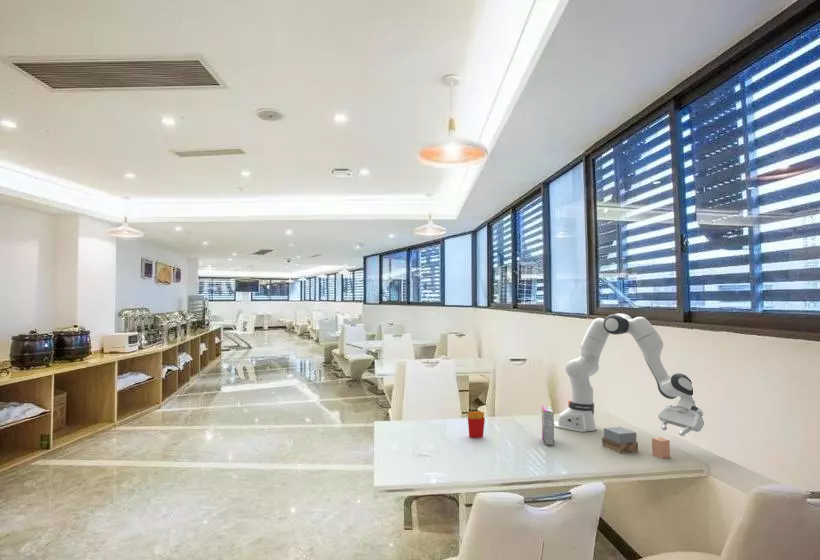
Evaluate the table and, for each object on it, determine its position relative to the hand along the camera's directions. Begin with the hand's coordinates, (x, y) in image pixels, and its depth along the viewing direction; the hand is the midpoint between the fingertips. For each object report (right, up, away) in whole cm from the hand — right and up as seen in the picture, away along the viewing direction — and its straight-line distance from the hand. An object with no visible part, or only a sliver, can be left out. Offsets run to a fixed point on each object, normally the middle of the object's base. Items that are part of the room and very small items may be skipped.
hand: (671, 432), depth 205 cm
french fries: (-88, -10, +22) cm, 92 cm away
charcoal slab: (-21, -6, +7) cm, 23 cm away
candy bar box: (-53, -10, +16) cm, 56 cm away
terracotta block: (-7, -10, -3) cm, 12 cm away
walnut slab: (-21, -11, +7) cm, 25 cm away
